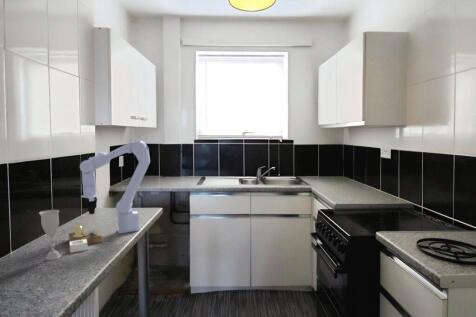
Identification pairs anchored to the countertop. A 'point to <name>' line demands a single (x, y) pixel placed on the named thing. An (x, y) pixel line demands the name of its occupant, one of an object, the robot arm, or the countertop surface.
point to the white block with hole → (78, 245)
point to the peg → (79, 232)
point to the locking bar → (94, 230)
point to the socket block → (87, 237)
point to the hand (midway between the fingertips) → (91, 213)
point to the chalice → (50, 229)
